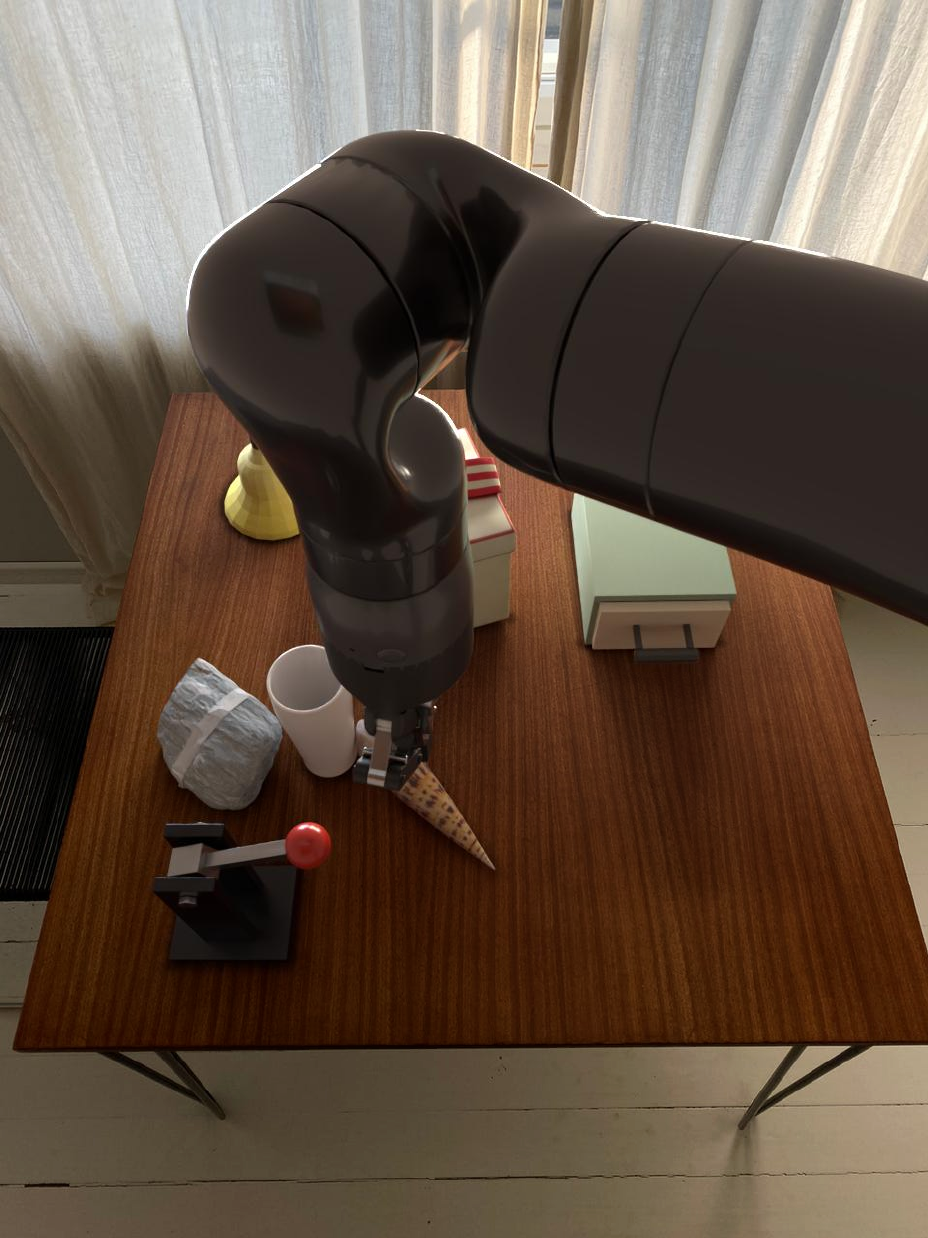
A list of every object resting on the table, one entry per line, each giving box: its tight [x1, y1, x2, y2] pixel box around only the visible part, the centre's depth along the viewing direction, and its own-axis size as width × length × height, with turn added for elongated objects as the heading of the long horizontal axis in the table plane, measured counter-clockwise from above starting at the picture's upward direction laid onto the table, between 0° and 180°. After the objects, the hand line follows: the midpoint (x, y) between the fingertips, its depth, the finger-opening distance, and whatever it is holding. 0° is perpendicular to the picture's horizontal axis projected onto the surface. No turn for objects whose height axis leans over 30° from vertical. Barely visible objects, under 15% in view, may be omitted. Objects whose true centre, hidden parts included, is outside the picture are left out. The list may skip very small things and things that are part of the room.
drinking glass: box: [266, 644, 358, 778], centre depth 79 cm, size 7×7×15 cm
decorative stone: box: [156, 657, 284, 811], centre depth 83 cm, size 13×10×6 cm
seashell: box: [355, 718, 496, 871], centre depth 80 cm, size 4×18×5 cm, turn 43°
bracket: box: [151, 822, 300, 964], centre depth 70 cm, size 10×8×16 cm
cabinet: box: [570, 492, 738, 645], centre depth 93 cm, size 18×14×9 cm
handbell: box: [224, 435, 300, 541], centre depth 93 cm, size 12×12×25 cm
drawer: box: [591, 600, 732, 665], centre depth 91 cm, size 21×13×7 cm, turn 1°
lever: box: [166, 821, 332, 880], centre depth 63 cm, size 13×3×3 cm, turn 90°
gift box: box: [457, 427, 517, 629], centre depth 89 cm, size 17×18×17 cm
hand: (414, 750), depth 55 cm, fingers closed
